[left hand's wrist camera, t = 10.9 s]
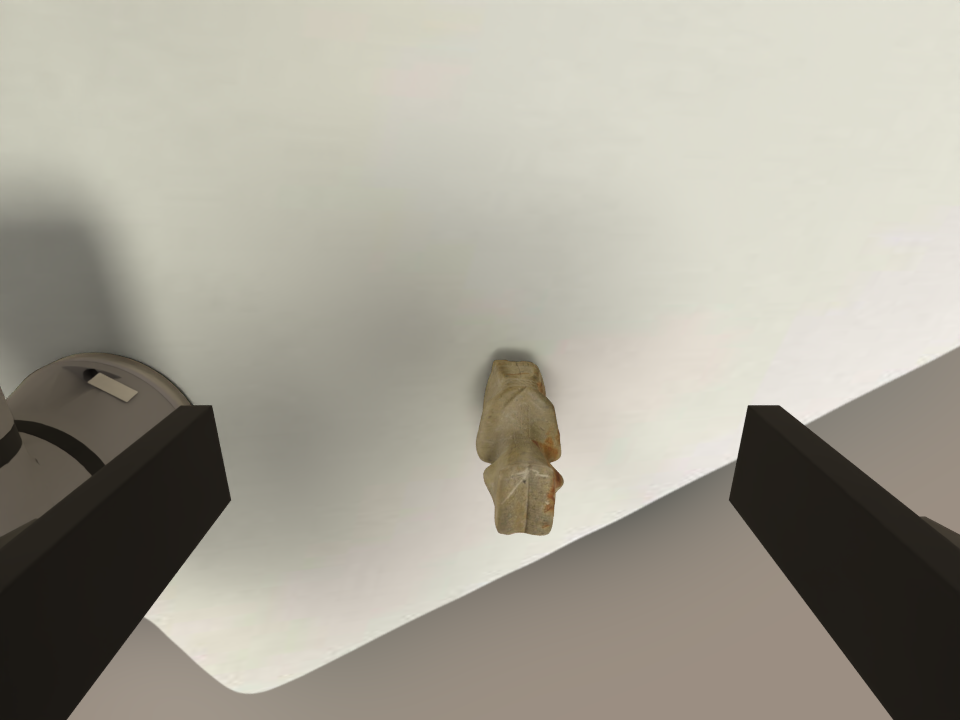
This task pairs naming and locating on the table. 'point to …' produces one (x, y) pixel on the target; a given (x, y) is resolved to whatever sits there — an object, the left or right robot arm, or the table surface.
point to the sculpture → (519, 448)
